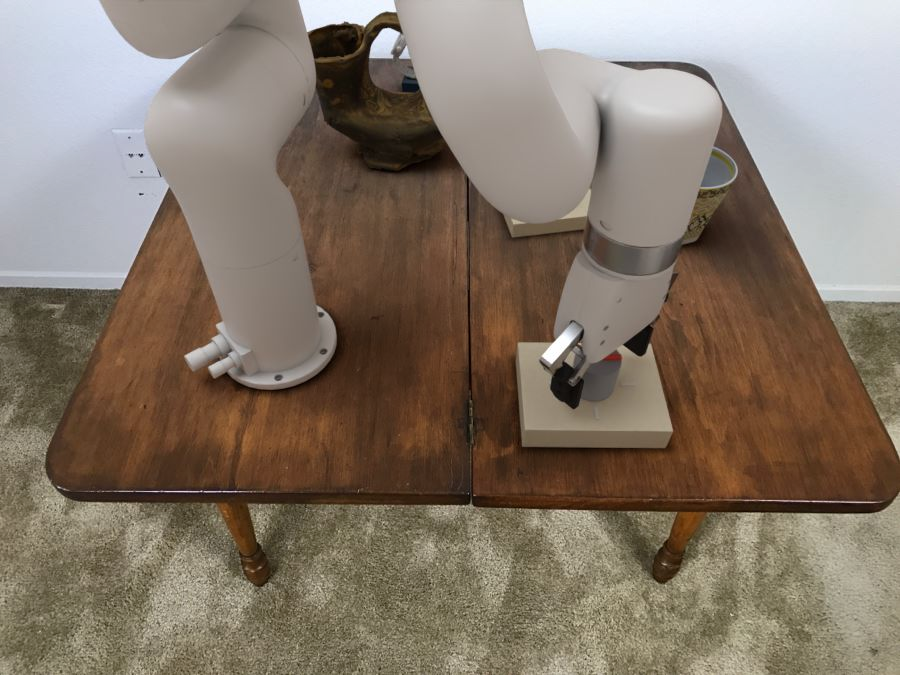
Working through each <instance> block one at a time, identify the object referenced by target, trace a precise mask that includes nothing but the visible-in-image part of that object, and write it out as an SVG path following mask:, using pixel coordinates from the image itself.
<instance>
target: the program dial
mask: <svg viewBox="0 0 900 675" xmlns="http://www.w3.org/2000/svg"><path fill="white" fill-rule="evenodd" d="M581 347H582V345H581ZM581 359H582V358H581V357H579V356H578V355H577V354H575V357H574V362H573V366H572V367H573V368H574V369H575V368H576V366H577V365H578V363H579V362H580V360H581ZM621 364H622V355H621V354H619V352H618V351H617V350H615V351H613V352H612V353H611V354H609V355H608V356H607V357H605V358H604V359H602V360H601V361H599V362H596V363H591V364H590V365H589V367H588V368H587V370H586V371H585V373H584V374H583V376H582V377H581V378H582V379H583V380H584V385H583V390H582V394H581V398H582V399H585V400H588V401H602V400H604V399H606V398H608V397H609V396H610V395H611V394H612V393H613V390H614V387H615V384H616V381H617V377H618V374H619V371H620V368H621Z"/></svg>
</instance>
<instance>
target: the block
mask: <svg viewBox="0 0 900 675" xmlns="http://www.w3.org/2000/svg"><path fill="white" fill-rule="evenodd" d="M591 190H592V188H591V187H590V188H589V190H588V192H587V194H586V195H585V197H584V198H583V200H582V201H581V203H580V204H579V205H578V206H577V207H576V208H575V209H574V210H573V211H571V212H570V213H569V214H567V215H566V216H564V217H562V218H560V219H558V220H555V221H552V222H548V223H541V224H532V223H525V222H520V221H518V220H515V219H512V218H510V217H508V216H506V215H505V214H503V213H502V215H503V217H504V220H505V222H506V225H507V228H508V231H509V233H510V236H511V238H521V237H528V236H529V237H531V236H537V235H545V234H547V235H548V234H555V233H564V232H571V231H572V232H573V231H580V230H584V229H585V223H586V217H587V212H588V207H589V201H590V196H591Z"/></svg>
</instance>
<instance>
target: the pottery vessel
mask: <svg viewBox="0 0 900 675" xmlns="http://www.w3.org/2000/svg"><path fill="white" fill-rule="evenodd" d="M385 29H391V30H393V31H395V32H398V34H400V33H401V34H402V35H403V32H402V29H401V26H400V22H399V19H398V16H397V12H396V11H387V10H386V11H384V12H380V13H378V14H377V15H375V17H373V18H372V19H371V20H370V21H369V22H368V23H366V25H365V26H364V25H361V24H358V23H352V22H351V23H350V22H349V21H343V22H341V23H337V24H336V23H331V24H326V25H324V26H321V27H317V28H315V29H311V30H309V31H307V34H308V37H309V41H310V45H311V49H312V53H313V57H314V63H315V69H316V87H315V92H316V94H317V96H318V101H319V105H320V109H321V113H322V116H323V121H324V122H325V123H326V125H327V126H329V127H330V128H332V129H333V130H335V131H336V132H338V133H340V134H341V135H344V136H345V137H347V138H349V139H350V140H352V141H353V142H355V143H356V144H358V149H357V153H359V154H361V153H363V154H362V155H363V160H364V162H366V163H365V164H366V165H367V166H368V167H369V168H371V169H378V170H382V169H384V170H390V171H397V172H399V171H400V170H401V169H403V168H406V167H407V166H409V165H411V164H414V163H420V162H424V161H425V160H431V159H432V158H433V156H434V157H435V156H438V155H439V152H441V151H442V150H443V149H444V148H445V147H447V146H448V144H447V142H446V141H445V139H444V138H443V136H442V134H441V133H440V131H439V129H438V127H437V125H436V123H435V122H434V120H433V117H432V115H431V113H430V111H429V109H428V107H427V105H426V102H425V99H424V97H423V94H422V92H421V89H419V90H418V91H417V92H415V93H409V92H402V91H392V90H386V89H383V88H381V87H379V86H377V85H376V84H375V83H374V82H373V80H372V78H371V74H370V56H371V49H372V45H373V43H374V42H375V40H376V39H377V37H378V36H379V35H380V33H381V32H382V31H383V30H385Z"/></svg>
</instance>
